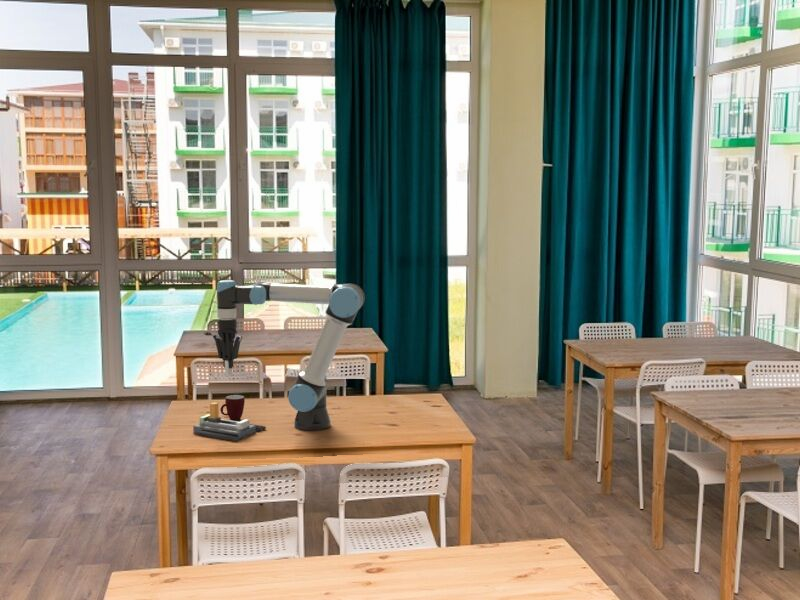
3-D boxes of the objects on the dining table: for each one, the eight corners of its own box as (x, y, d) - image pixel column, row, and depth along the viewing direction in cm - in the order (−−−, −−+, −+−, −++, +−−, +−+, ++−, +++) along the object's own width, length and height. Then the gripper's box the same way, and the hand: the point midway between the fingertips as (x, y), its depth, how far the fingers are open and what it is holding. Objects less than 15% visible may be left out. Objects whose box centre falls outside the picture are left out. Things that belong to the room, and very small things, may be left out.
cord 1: (239, 441, 346) (239, 436, 346) (236, 442, 345) (236, 437, 344) (199, 434, 355) (199, 429, 355) (196, 435, 354) (196, 430, 353)
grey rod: (262, 431, 361) (262, 426, 361) (260, 432, 359) (260, 427, 359) (215, 423, 371) (215, 419, 371) (212, 424, 369) (212, 420, 369)
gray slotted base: (255, 432, 358) (255, 418, 357) (238, 440, 347) (238, 425, 347) (211, 426, 367) (211, 412, 367) (193, 433, 357) (193, 418, 356)
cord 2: (266, 429, 363) (266, 425, 363) (264, 430, 362) (264, 426, 362) (216, 423, 372) (216, 419, 372) (214, 423, 371) (214, 420, 371)
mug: (226, 424, 371) (226, 401, 370) (217, 420, 377) (216, 397, 376) (248, 420, 378) (248, 397, 376) (238, 416, 384) (238, 394, 382)
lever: (220, 423, 360) (220, 403, 359) (216, 424, 357) (215, 404, 356) (212, 421, 361) (212, 401, 360) (208, 423, 358) (207, 403, 357)
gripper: (245, 318, 355) (247, 375, 358) (219, 316, 361) (220, 372, 364) (235, 320, 349) (236, 379, 351) (208, 318, 354) (209, 376, 357)
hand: (228, 375), depth 357 cm, fingers closed
